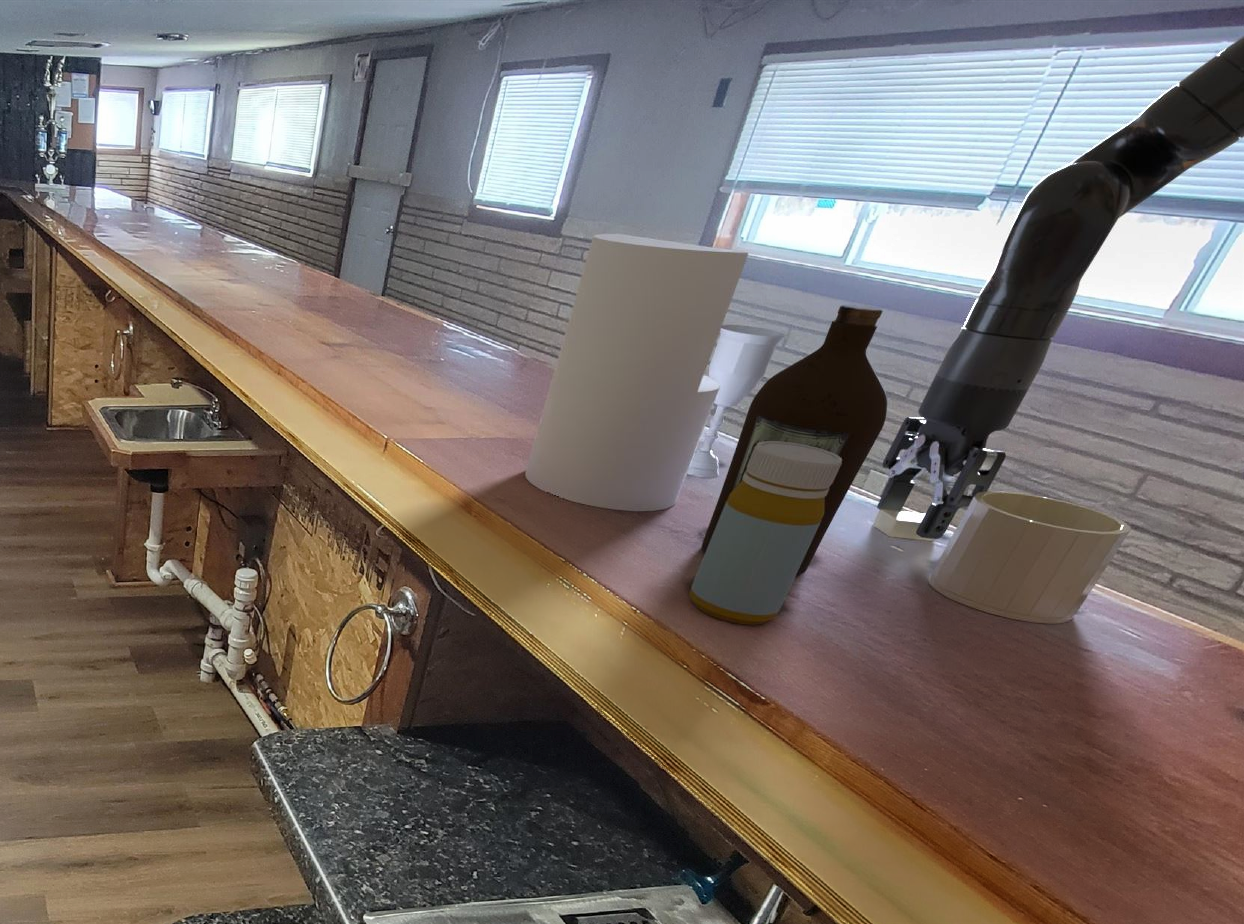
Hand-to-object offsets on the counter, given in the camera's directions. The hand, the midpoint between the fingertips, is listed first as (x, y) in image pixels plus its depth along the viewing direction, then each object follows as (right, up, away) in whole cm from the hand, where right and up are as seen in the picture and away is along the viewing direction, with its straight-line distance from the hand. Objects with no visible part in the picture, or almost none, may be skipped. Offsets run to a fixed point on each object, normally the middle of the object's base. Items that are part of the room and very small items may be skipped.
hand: (906, 523), depth 103 cm
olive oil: (-23, -5, -8) cm, 25 cm away
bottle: (-33, -11, -19) cm, 40 cm away
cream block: (0, -1, 0) cm, 1 cm away
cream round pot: (-4, -9, -14) cm, 17 cm away
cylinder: (-29, +6, +11) cm, 32 cm away
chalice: (-12, +9, +18) cm, 23 cm away
